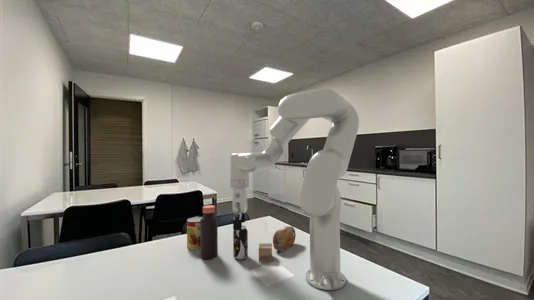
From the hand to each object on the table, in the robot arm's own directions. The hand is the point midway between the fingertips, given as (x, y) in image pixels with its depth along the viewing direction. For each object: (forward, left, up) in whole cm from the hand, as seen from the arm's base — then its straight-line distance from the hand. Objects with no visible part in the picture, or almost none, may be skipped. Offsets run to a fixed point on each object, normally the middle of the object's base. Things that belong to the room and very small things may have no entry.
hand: (239, 225), depth 94 cm
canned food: (+12, +21, -13) cm, 27 cm away
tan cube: (-1, -11, -12) cm, 16 cm away
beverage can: (0, -1, -13) cm, 13 cm away
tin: (+10, -19, -13) cm, 24 cm away
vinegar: (+1, +12, -13) cm, 18 cm away
